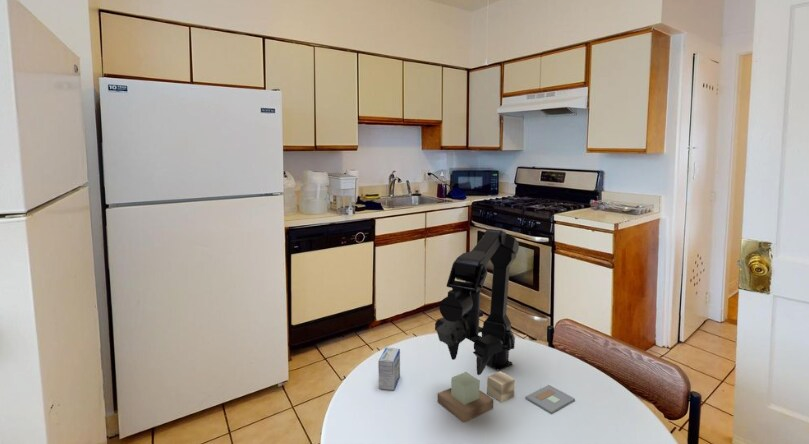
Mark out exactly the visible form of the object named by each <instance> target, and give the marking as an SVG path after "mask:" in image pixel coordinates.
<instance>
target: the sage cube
mask: <svg viewBox="0 0 809 444" xmlns="http://www.w3.org/2000/svg"><path fill="white" fill-rule="evenodd" d="M450 382H451V386H450V388H451V396H453V397H454V398H455V399H457V400H458V401H459V402H461V403H462V404H463V405H466V404H468V403H470V402H472V401H475V400H477V399H479V390H480V383H481V380H480V379H478V378H477V377H475V376H474V375H472V374H471V373H469V372H468V371H464V372H463V373H459V374H457V375H453V376H452V377H451V381H450Z"/></svg>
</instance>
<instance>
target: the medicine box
mask: <svg viewBox="0 0 809 444" xmlns="http://www.w3.org/2000/svg"><path fill="white" fill-rule="evenodd" d="M383 350H384V351H383V352H382V353H381V356H380V357H379V359H378V363H377V364H378V365H377V368H378V370H377V371H378V372H377V373H378V389H379V390H387V391H395V389H396V387H397V385H398V381H399V379H400V378H401V349H400V348H398V347H384V349H383Z"/></svg>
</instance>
